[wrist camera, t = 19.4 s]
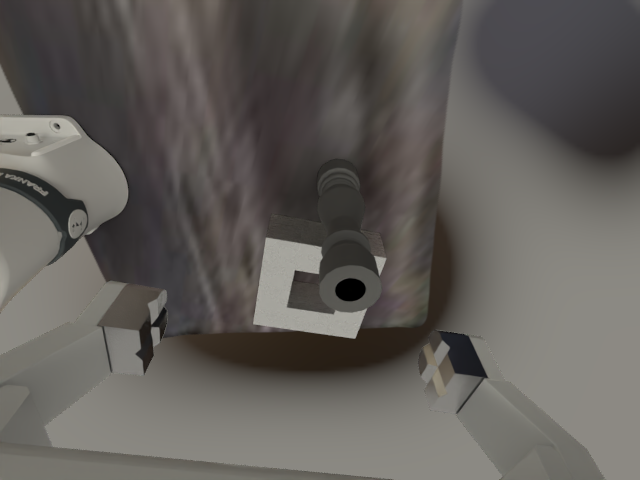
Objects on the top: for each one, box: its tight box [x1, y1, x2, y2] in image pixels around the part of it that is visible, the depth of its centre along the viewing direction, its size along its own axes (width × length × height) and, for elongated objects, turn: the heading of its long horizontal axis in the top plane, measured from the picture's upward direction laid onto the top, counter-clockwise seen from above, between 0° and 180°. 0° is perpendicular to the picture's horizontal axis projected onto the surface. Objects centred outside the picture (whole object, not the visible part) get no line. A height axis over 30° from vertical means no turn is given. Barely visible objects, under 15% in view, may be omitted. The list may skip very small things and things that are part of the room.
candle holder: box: [317, 159, 382, 313], centre depth 42 cm, size 6×6×25 cm
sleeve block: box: [253, 214, 386, 338], centre depth 58 cm, size 18×18×7 cm
